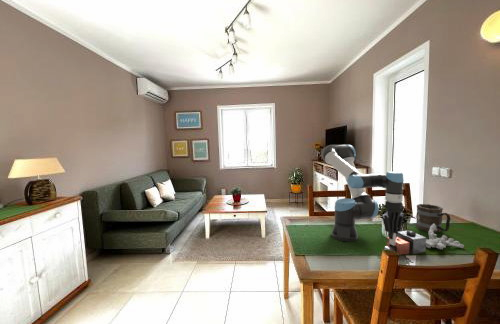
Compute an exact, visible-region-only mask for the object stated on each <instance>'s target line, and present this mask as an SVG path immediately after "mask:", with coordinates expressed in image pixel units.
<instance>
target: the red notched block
mask: <svg viewBox="0 0 500 324" xmlns="http://www.w3.org/2000/svg"><path fill="white" fill-rule="evenodd" d="M386 239H387V241H386V246H391V244H389V236H388V237H387V238H386ZM409 244H410V243H409V242H407V241H405V240H403V239H401V238H399V237H397V238H396V245H395V246H396V247H397V252H396V254H397V253H398V254H397V255H399V256H401V255H409V254H410V252H409Z"/></svg>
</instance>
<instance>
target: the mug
mask: <svg viewBox="0 0 500 324" xmlns="http://www.w3.org/2000/svg"><path fill="white" fill-rule="evenodd" d="M443 210H444V208H443V207H441V206H439V205H434V204H429V203H419V204H416V217H415V219H416V221H415V222H416V223H415V228H417V229H418V230H420V231H424V232H429V230H430V226H431V225H433V224H435V226H436V229H437V230H436V229H435V230H434V231H433V233H437V232H439V233H440V232H448V231H449V229H450V223H451V216H450V215H451V214H449V213H447V212H443ZM444 215H445V216H446V223H445V229H444V228H443V227H442V222H443V216H444Z"/></svg>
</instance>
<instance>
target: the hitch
mask: <svg viewBox="0 0 500 324" xmlns="http://www.w3.org/2000/svg"><path fill="white" fill-rule="evenodd" d="M398 232H399V231H398ZM397 237H399V238H401V239H403V240H405V241H407V242H409V243H410V244H409V254H410V253H411V254H413V255H415V254H421V253H422V254H423V253H426V249H427V247H426V239H427V237H426V236H423V235H420V234H418V233H417V231H414V230H401V231H400V232H399V233H398V234H397ZM384 250H390V251H395V252H396V253H397V247H396V246H395V245H394V246H393V245H391V246H387V245H386V246H384V248H383V251H384Z"/></svg>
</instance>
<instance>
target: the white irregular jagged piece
mask: <svg viewBox="0 0 500 324" xmlns="http://www.w3.org/2000/svg"><path fill="white" fill-rule="evenodd" d="M435 229H436V226H435V224H433V225H431V226H430V230H429V232H428V233H427V235H428V238H426V249H427V248H428V249H432V248H436V249H438V250H443V249H446V246H449V247H455V248H460V249H464V247H465V245H464V244H463V243H461V242H460V241H458V240H455V239H454V238H451V237H449V238H448V236H447V235H446V234H441V235H442V236H441V237H437V236H438V234H436V233H435V232H433V231H434V230H435ZM436 230H437V229H436ZM431 247H432V248H431Z"/></svg>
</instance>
